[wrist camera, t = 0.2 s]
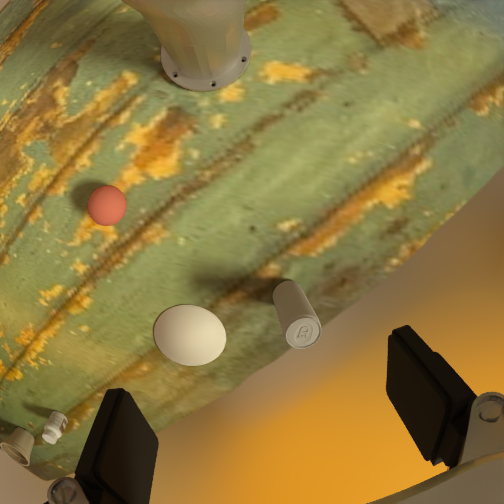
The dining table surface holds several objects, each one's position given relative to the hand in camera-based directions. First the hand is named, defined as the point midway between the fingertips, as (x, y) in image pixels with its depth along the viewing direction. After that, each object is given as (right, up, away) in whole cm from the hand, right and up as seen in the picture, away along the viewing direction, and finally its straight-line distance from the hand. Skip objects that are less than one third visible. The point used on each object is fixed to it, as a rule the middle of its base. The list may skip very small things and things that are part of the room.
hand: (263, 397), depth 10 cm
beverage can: (+5, -1, +39) cm, 40 cm away
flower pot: (-63, -45, +48) cm, 91 cm away
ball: (-20, +11, +30) cm, 38 cm away
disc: (-11, -9, +40) cm, 43 cm away
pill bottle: (-45, -33, +46) cm, 72 cm away
